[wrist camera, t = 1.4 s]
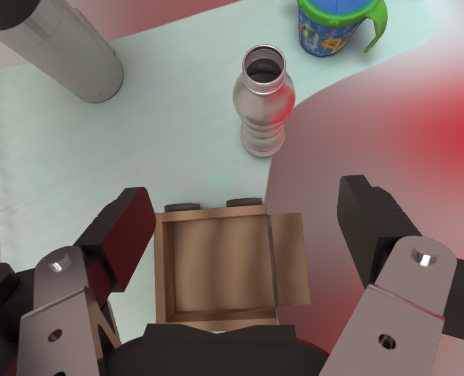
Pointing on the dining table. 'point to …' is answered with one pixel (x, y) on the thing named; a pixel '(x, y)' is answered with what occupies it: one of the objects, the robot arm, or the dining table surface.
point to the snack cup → (337, 23)
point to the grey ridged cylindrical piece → (263, 100)
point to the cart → (227, 265)
